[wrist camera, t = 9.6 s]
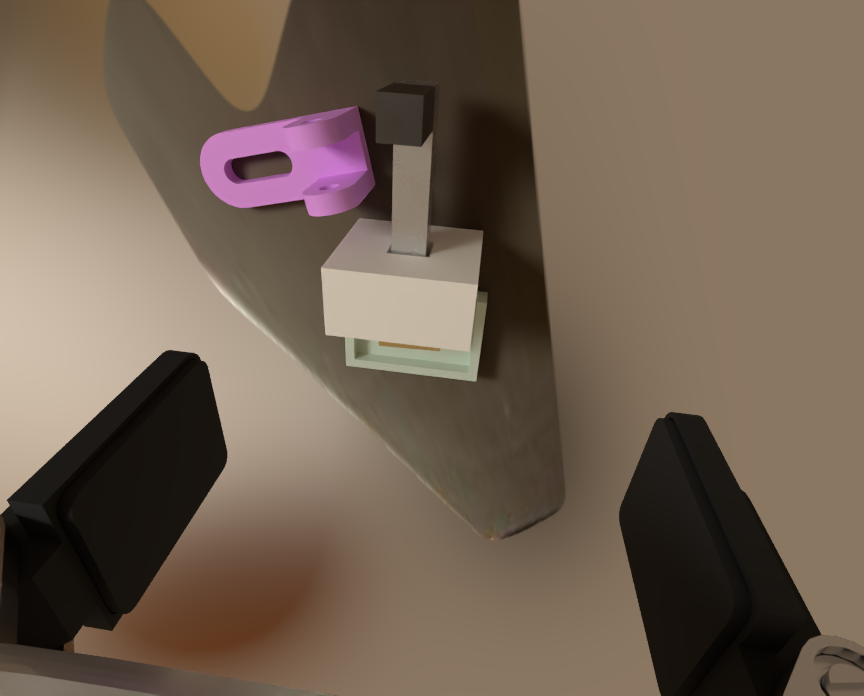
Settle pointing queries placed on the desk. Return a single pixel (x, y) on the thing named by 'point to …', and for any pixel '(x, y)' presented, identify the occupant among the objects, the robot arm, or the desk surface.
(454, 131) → the desk surface
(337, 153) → the bracket
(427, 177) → the grey upright plate
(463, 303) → the block
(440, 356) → the tray
